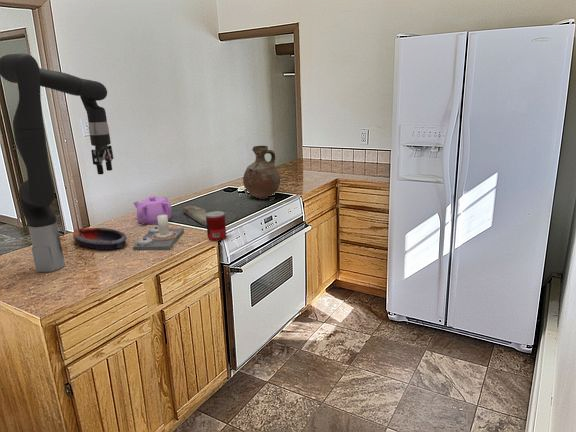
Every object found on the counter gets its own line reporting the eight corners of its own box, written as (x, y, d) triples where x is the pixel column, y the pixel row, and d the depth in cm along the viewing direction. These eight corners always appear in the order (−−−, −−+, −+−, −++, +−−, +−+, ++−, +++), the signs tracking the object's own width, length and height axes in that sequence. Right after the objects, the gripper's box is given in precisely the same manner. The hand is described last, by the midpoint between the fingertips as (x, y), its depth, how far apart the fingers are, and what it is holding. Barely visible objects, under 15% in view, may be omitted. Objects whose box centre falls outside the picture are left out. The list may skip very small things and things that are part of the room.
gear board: (169, 249, 178) (168, 241, 177) (133, 250, 178) (132, 242, 177) (184, 231, 200) (183, 224, 199) (151, 232, 200) (150, 224, 199)
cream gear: (171, 239, 185) (168, 218, 182) (152, 240, 185) (150, 218, 182) (176, 233, 192) (173, 213, 189) (158, 234, 192) (156, 213, 190)
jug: (237, 197, 259) (234, 146, 250) (265, 191, 272) (263, 143, 263) (259, 204, 243) (256, 150, 234) (288, 197, 256) (286, 145, 248)
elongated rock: (202, 231, 204) (222, 228, 209) (202, 221, 202) (222, 218, 207) (178, 211, 232) (196, 209, 237) (178, 201, 230) (196, 199, 235)
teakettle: (140, 227, 208) (137, 202, 204) (134, 218, 222) (131, 195, 219) (176, 222, 215) (173, 197, 211) (168, 213, 230) (165, 191, 226)
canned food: (229, 237, 190) (228, 213, 187) (215, 242, 185) (213, 217, 182) (218, 233, 195) (217, 210, 192) (204, 238, 190) (202, 214, 187)
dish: (105, 256, 174) (103, 244, 172) (63, 242, 190) (61, 231, 189) (137, 244, 186) (136, 233, 184) (96, 232, 203) (94, 222, 201)
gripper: (100, 134, 171) (106, 175, 176) (115, 131, 185) (120, 169, 190) (82, 135, 172) (88, 175, 176) (98, 131, 185) (103, 169, 190)
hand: (105, 172), depth 183 cm, fingers open, 8 cm apart
